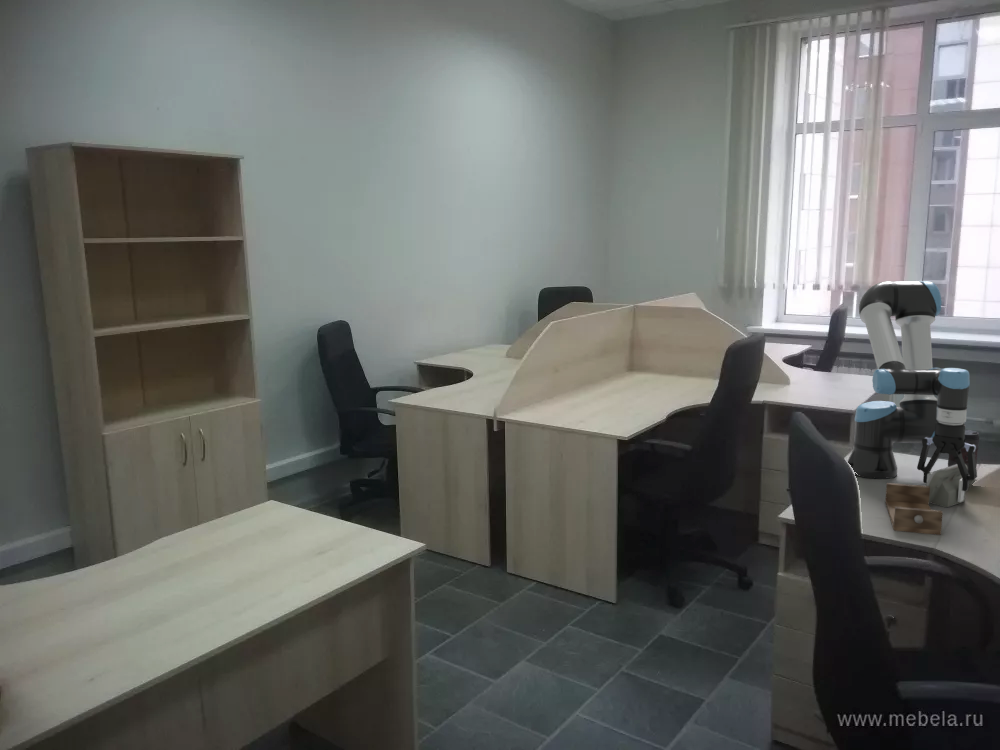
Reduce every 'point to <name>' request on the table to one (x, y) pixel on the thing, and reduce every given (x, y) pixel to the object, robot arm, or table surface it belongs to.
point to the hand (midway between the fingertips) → (944, 497)
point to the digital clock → (945, 486)
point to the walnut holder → (912, 509)
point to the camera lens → (970, 438)
